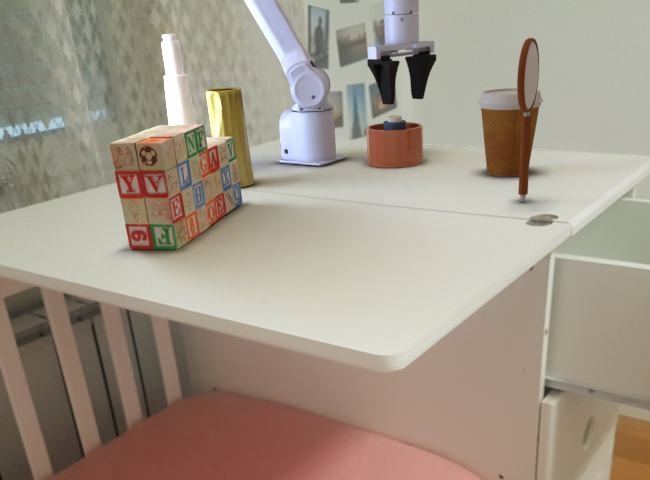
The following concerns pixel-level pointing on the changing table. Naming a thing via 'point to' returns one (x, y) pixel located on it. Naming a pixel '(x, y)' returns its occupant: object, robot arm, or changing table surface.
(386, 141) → the cup
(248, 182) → the vase
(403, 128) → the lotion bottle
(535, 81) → the magnifying glass
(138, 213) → the stack of blocks
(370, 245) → the changing table surface
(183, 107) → the cosmetic bottle
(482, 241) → the changing table surface
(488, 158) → the disposable coffee cup
